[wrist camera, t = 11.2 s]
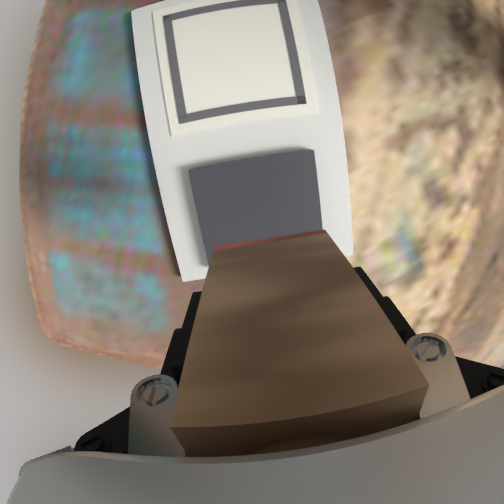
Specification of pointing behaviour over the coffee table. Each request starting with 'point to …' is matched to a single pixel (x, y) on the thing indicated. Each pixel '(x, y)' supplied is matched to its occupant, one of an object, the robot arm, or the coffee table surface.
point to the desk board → (242, 123)
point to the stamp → (290, 354)
